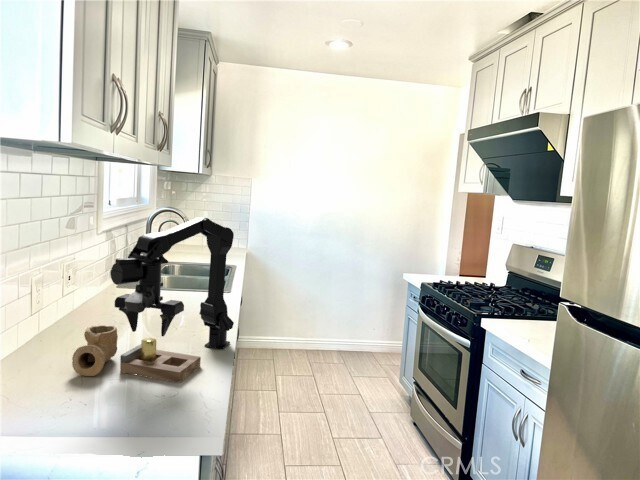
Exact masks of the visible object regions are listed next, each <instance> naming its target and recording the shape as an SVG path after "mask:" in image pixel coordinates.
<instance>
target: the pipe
mask: <svg viewBox="0 0 640 480" xmlns="http://www.w3.org/2000/svg"><path fill="white" fill-rule="evenodd" d="M83 335H84V340H85V341H86V342H87V345H82V346H79V347H77V349H75V350H74V353H73V355H72V357H71V358H72V359H71V360H72V361H71V365H72V369H73V370H74V372H75V373H77V375H78V374H79V375H81V376H83V377H94V376H97V375H98V374H100V373H101V372H102V370H103V369H104V366H105V363H106V362H108V361H110V360H111V358H113V357H115V355H116V354H117V351H118V336H119V335H118V329H117V327H116V326H115V325H91V326H89V327H87V328H86V329H85V330H84V334H83Z"/></svg>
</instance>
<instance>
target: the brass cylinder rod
mask: <svg viewBox="0 0 640 480" xmlns="http://www.w3.org/2000/svg"><path fill="white" fill-rule="evenodd" d="M140 344H141V360H143V361H149V362H152V361H154V360H156V350H157V338H154V337H153V338H152V337H145V338H143V339H141V343H140Z"/></svg>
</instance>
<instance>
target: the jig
mask: <svg viewBox="0 0 640 480" xmlns="http://www.w3.org/2000/svg"><path fill="white" fill-rule="evenodd" d="M201 360H202V359H201V356H199V355H192V354H185V353H179V352H174V351H169V350H163V349H162V350H161V349H156V360H154V361H152V362H149V361H143V360H141V343H140V344H138V345H137V346H135V347H133V348H131V349H129V350H128V351H125V352H124V353H122V354H120V362H119V363H120V365H119V367H120V370H119V371H120V372H125V373H124V374H126V373H130V374H129V375H132V374H137V375H142V376H141V377H143V376H147V377H146V378H148V377H152V378H151V379H154V378H156V379H155V380H160V379H162V380H161V381H165V380H168V381H167V382H171V381H173V382H172V383H176V382H180V383H181V382H183V379H184V380H186V378H187V376H188V377H189V376H190V375H191V374H193V373H194V372H195V371H197V370H198V369H199V368H201ZM137 375H136V376H137Z"/></svg>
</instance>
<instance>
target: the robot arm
mask: <svg viewBox="0 0 640 480" xmlns="http://www.w3.org/2000/svg"><path fill="white" fill-rule="evenodd" d="M198 234H201V235H203V236H205V237H206V246H207V247H208V250H209V253H210V261H209V275H208V290H207V297H206V299H204V300H205V301H201V302H200V306H199V307H200V310H199V315H200V318H201V320H202V321H203V325H204V326H205V327H208V328H209V331H208V332H209V333H208V342H207V343H205V344H204V347H206V348H210V349H211V348H212V349H219V350H224V349H225V348H226V347H227V346H229V345H230V344H231V341H228V340H227V339H228V338H227V336H228V332H229V331H230V330H232V329H233V327H234V324H235V321H233V320H232V319H231V318H230V316H228V305H227V304H226V301H225V298H224V292H225V282H226V281H225V278H226V266H227V262H226V261H227V255H228V253H229V251H230V250H231V248H232V247H233V242H234V238H235V236H234V231H233V230H232V229H231V228H230V227H227V226H222V225H221V224H218V223H216V222H214V221H212V220H211V219H210V218H208V217H202V216H197V217H194V218H193V219H191V220H188V221H186V222H184V223H181V224H179V225H177V226H174V227H172V228H169V229H168V230H165V231H164V230H163V231H157V232H156V231H155V232H151V233H145V234H142V235H140V236H139V237H138V239H137V242H136V244H135V246H134V247H133V249H132V250H131V252H130V253H129V254H128V256H127V258H116V259H114V260H115V261H114V262H115V263H114V264H112V266H111V269H110V272H109V273H110V279H111V281H112V283H113V284H115V285H116V286H119V285H125V284H126V285H127V284H133V283H137V284H135V285H136V286H135V290H134V292H131V293H125V294H123V295H122V294H121V295H119V296H116V298H115V300H114V308H118V311H121V312H122V313H123V314H125V316H126V318H127V320H128V323H129V326H130V329H131V331H132V332H133V333H134V332H137V327H138V320H139V314H140V313H143V312H144V311H145V309H157V310H160V312H161V313H162V314H159V317H160V318H161V331H160V332H161V337H165V335H166V334H167V331H168V329H169V328H170V325H171V323H172V321H173V320H174V318H175V317H176V315H178V314H180V313H182V312H185V305H184V302H183V301H182V300H176V299H169V300H167V301H165V302H162V301H163V300H164V296H161V292H162V290H161V288H162V287H164V282H162V265H165V264H168V263H169V260H168V259H167V258H166V257H164V254H167V253H168V252H169V251H170V250H171V248H172V247H173V246H175V245H177V244H178V243H181V242H184V241H185V240H188V239H190V238H192V237H194V236H196V235H198Z"/></svg>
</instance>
